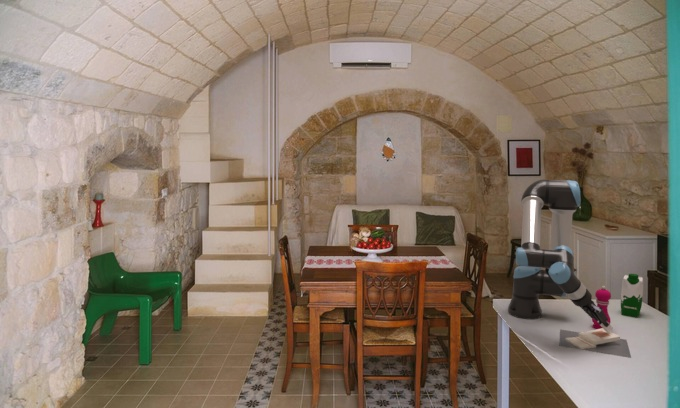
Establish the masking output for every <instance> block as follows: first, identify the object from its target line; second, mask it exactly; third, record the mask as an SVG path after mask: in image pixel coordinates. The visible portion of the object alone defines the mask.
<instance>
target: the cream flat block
mask: <svg viewBox="0 0 680 408" xmlns="http://www.w3.org/2000/svg"><path fill="white" fill-rule="evenodd" d="M579 337H581V338H583V339H585V340H587V341H589V342H590V343H592V344H594V345H597V344H602V343H607V342H611V341H616V340H620V339H621V336H620V335H619V334H616V333H614V332H612V331H610V332H609V333H608V332H606V331H605V330H604V329H603V328H601V329H592V330H586V331H582V332H581V333H579Z"/></svg>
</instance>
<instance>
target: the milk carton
mask: <svg viewBox="0 0 680 408" xmlns="http://www.w3.org/2000/svg"><path fill="white" fill-rule="evenodd" d="M621 283H622V284H621V290H620V291H621V292H620V293H621V294H620V310H621V312H620V313H621V316H627V317H632V318H636V319H638V318H639V317H640V313H641V310H642V304H643V296H644V286H645V285H644V278H643V277H642V276H639V274H638V273H637V274H636V273H629V274H628V275H627V274H625V275H624V276H623V279H622V281H621Z"/></svg>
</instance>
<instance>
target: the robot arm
mask: <svg viewBox="0 0 680 408" xmlns="http://www.w3.org/2000/svg"><path fill="white" fill-rule="evenodd" d="M581 200H582V199H581V189H580V185H579V183H578V181H576V180H570V179H538V180H536V181H534V182H532V183H530V185H529V186H528V187H526V189H525V190H524V192H523V193H522V196H521V200H520V205H521V206H522V209H523V211H522V224H521V225H522V227H521V242H520V247H516V250H515V265H517V267H515V268H514V270H513V276H512V278H513V284H512V295H511V296H512V297H511V299H510V302H509V304H508V306H507V313H508V314H509V315H511V316H513V317H517V318H520V319H528V320H534V319H539V318H541V317H542V307H541V303H540V300H539V298H540V297H539V295H544V296H553V297H560V298H562V297H563V298H569V300H570V301H571V302H572V303H573V304H574V305H575V307H579V308H581V310H583V311H584V312H585V313H586V314H587V316H589V317H590V318H591V319H592V318H594V320H595V321H597V322H598V323H599V324H600V325H601V327H602V328H603V329H604V330H605V331H606V332H608V333H609V332H612V330H613V327H612V325H611V323H610V324H609V323H608V322H607V320H608V318H607V316H606V315H605V313H604V312H603V310H602V307H597V304H596V303H595V302H594V300H592V297H593V296H592V293H591V291H590V290H588V289H587V287H586V286H585V285H584V283H583V282H582V281H581V280H580V279H579V278H578V277H577V274H576V273H575V267H574V266H575V263H574V261H575V258H574V253H573V250H572V249H571V242H572V232H573V231H572V228H573V226H572V225H573V215H574V214H575V212H576V211H577V210H578V209H577V207H578V208H579V207H581ZM544 205H545V206H548V209H549V211H550V212H551V225H550V226H551V229H550V230H551V231H550V247H549V249H542V248H541V232H542V231H541V228H542V227H541V226H542V225H541V224H542V208H543V207H544ZM541 268H542V269H541ZM543 268H544V269H543Z"/></svg>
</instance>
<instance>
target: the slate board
mask: <svg viewBox="0 0 680 408" xmlns="http://www.w3.org/2000/svg"><path fill="white" fill-rule="evenodd" d="M579 333H581V332H580V331H574V330H566V329H562V328H561V329H559V344H558V345H559V347H565V348H571V349H576V350H582V351H588V352H593V353H599V354H605V355H612V356H617V357H623V358H629V359H632V355H631V351H630V348H629V344H628V340H627V339H624V338H620V340H616V341H611V342H607V343H602V344H597V345H596V347H594V348H585V349H580V348H578V347H577V346H575V345H573V344H571V343H570V342H568V341H566V340H565V338H571V337H579Z"/></svg>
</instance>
